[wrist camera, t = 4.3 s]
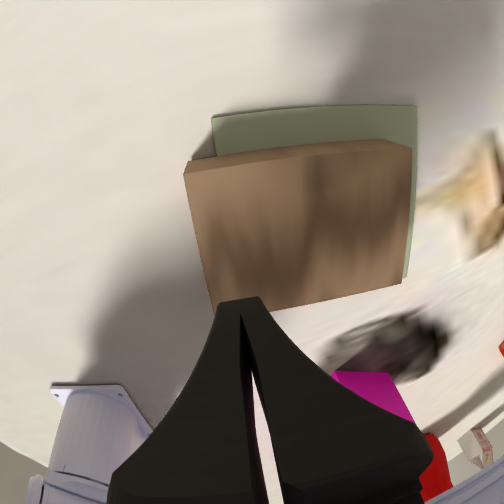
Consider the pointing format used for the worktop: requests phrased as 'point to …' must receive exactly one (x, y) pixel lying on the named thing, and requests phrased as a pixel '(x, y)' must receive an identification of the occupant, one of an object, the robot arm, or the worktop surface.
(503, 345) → the medicine box
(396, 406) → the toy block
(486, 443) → the white paper bag
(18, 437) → the worktop surface
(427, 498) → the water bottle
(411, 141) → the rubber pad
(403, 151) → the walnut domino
